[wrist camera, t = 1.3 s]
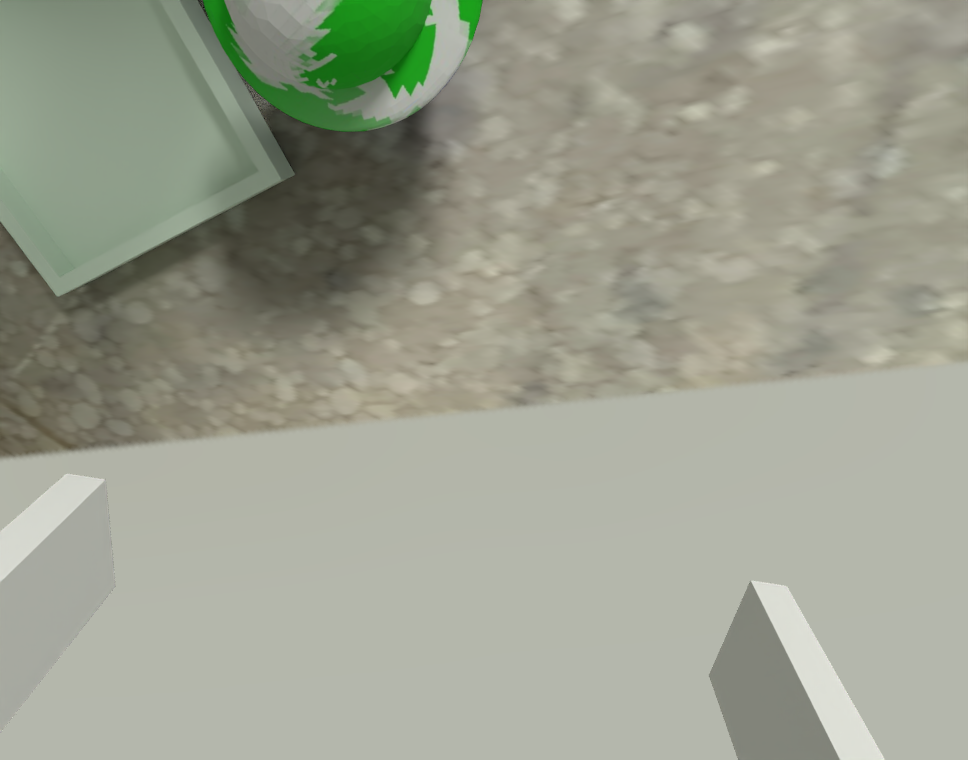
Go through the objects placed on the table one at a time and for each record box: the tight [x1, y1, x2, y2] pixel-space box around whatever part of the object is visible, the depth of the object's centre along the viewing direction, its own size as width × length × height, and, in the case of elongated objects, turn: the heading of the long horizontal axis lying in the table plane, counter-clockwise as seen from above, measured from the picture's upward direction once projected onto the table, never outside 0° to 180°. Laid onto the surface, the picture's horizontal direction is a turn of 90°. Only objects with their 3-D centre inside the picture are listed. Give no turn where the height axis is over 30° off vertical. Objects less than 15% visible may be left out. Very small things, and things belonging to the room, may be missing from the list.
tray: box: [0, 0, 295, 297], centre depth 31 cm, size 14×14×2 cm
